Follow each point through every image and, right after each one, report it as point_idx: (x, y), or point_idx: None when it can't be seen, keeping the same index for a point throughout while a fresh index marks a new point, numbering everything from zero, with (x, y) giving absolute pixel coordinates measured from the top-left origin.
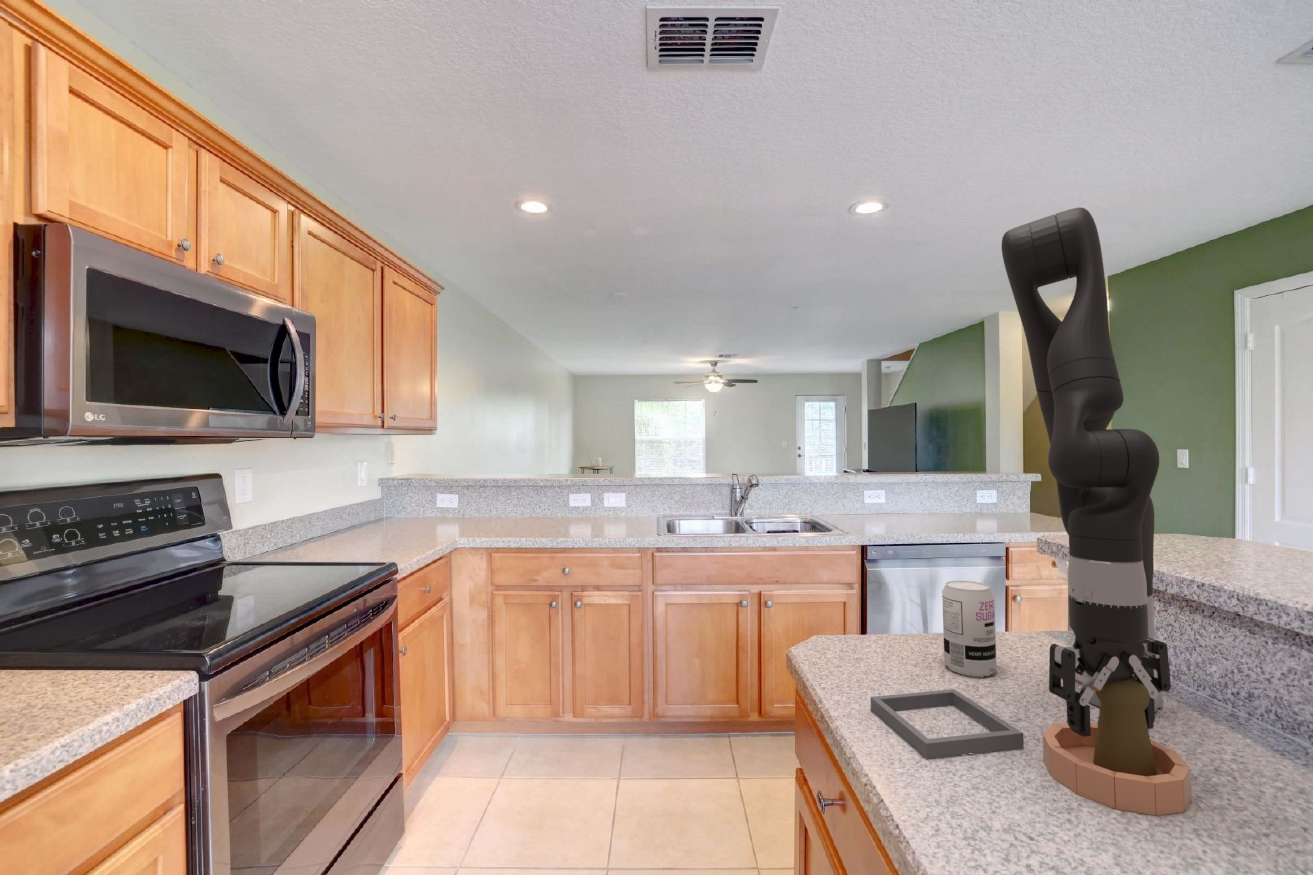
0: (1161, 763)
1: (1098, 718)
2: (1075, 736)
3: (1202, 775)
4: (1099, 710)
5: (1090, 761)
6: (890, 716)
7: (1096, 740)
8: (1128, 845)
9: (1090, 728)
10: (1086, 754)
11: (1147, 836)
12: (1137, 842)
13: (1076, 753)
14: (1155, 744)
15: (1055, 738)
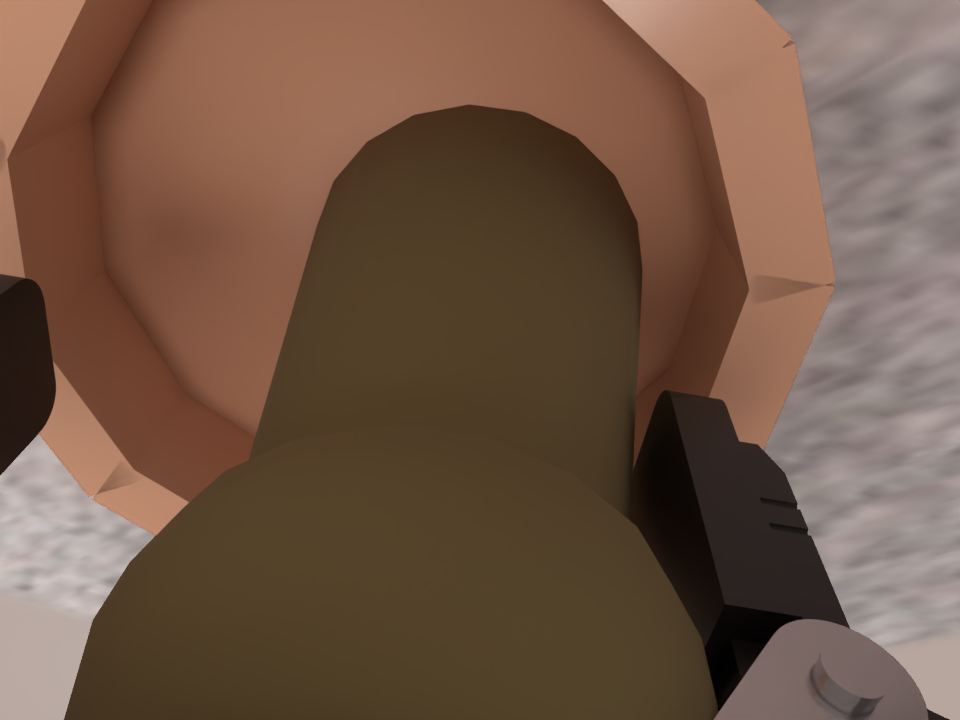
0: (682, 374)
1: (314, 326)
2: None
3: (916, 381)
4: (304, 376)
5: (357, 129)
6: None
7: (331, 233)
8: (19, 531)
9: (17, 455)
10: (422, 48)
11: (138, 528)
12: (68, 533)
13: (363, 6)
14: (744, 382)
15: (69, 28)
